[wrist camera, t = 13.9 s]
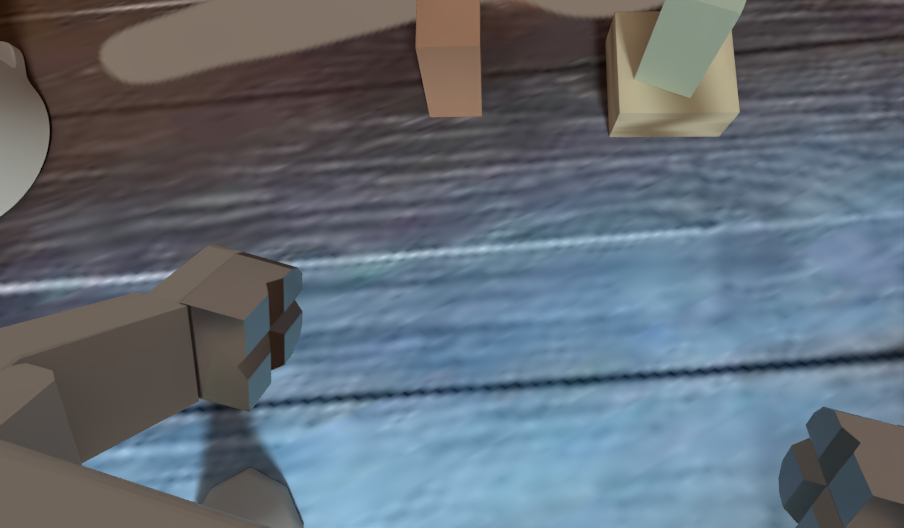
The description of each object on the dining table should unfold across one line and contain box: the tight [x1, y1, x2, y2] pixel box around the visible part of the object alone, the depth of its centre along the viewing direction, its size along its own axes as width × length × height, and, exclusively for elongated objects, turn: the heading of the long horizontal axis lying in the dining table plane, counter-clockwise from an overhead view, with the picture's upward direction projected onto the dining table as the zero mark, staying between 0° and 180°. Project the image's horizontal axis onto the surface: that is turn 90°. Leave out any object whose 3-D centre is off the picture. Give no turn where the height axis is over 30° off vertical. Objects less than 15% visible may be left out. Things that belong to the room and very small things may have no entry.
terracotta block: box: [416, 0, 482, 117], centre depth 41 cm, size 4×4×9 cm
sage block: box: [634, 0, 746, 98], centre depth 36 cm, size 4×4×9 cm
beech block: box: [605, 11, 740, 137], centre depth 43 cm, size 8×8×4 cm
